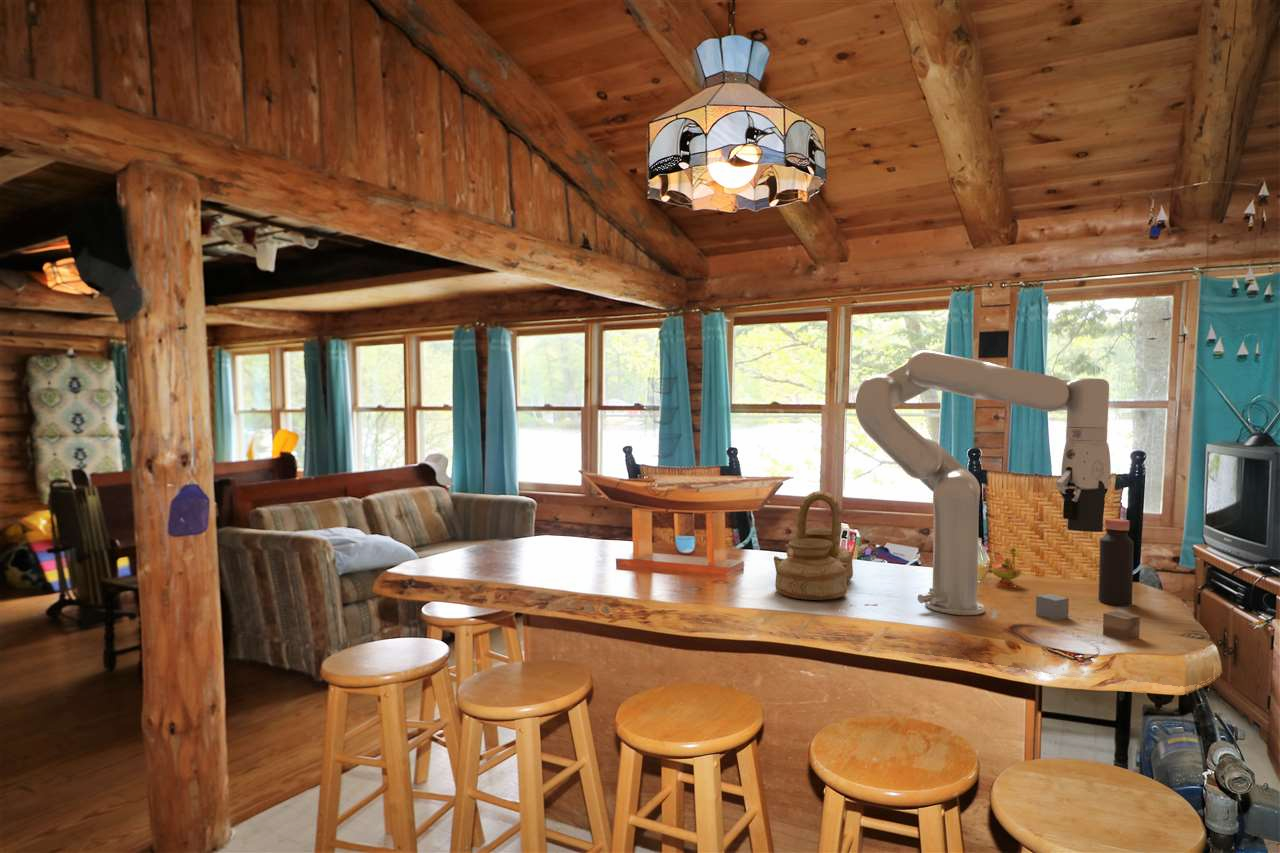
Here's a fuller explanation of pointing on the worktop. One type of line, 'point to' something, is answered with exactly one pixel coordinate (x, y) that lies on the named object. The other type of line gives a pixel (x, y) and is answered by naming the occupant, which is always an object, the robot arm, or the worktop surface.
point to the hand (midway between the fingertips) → (1082, 518)
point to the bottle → (1116, 564)
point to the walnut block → (1121, 625)
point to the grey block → (1052, 606)
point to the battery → (1089, 510)
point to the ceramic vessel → (815, 557)
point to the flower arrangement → (1005, 569)
